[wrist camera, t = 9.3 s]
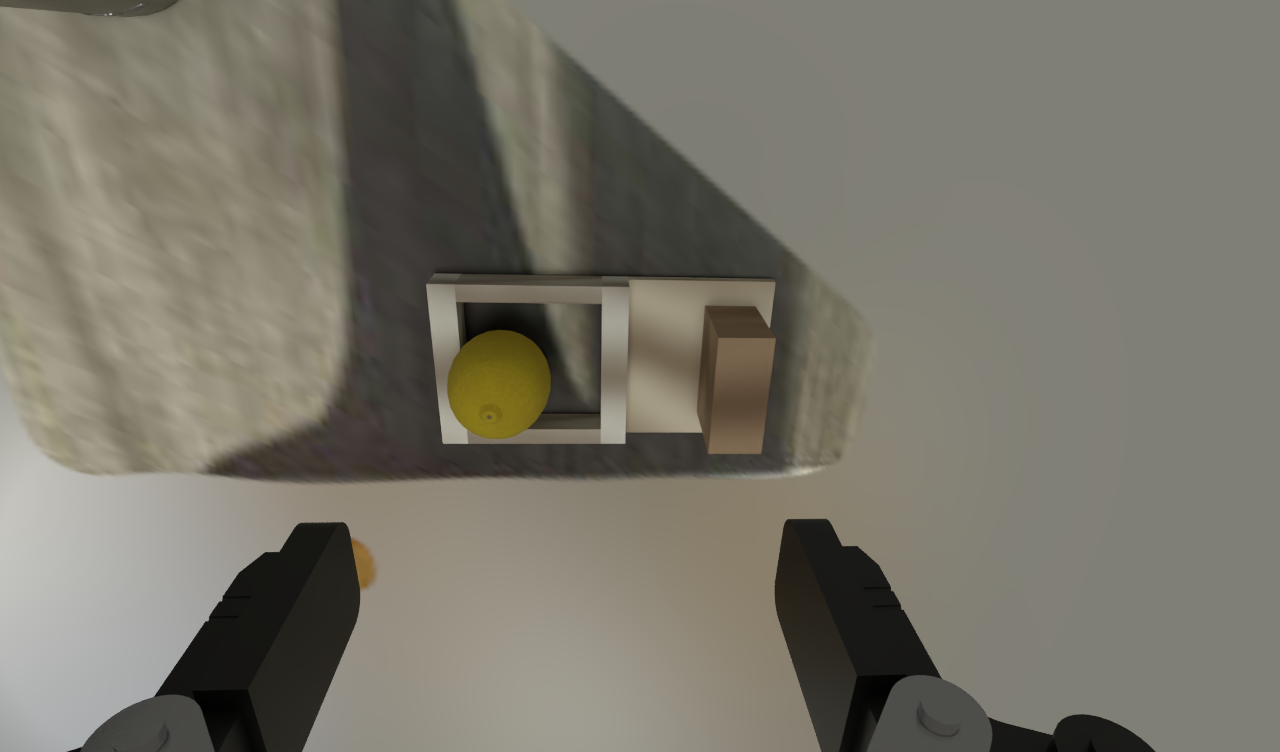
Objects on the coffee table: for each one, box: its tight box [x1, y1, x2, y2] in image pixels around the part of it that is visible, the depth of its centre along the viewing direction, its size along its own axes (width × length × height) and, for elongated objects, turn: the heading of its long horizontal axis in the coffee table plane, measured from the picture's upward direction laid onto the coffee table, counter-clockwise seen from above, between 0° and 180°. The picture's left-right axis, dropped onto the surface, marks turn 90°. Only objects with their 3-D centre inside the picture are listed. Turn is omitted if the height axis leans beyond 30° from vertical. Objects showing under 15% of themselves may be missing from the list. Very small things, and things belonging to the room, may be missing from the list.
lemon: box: [447, 330, 551, 439], centre depth 37 cm, size 6×6×8 cm
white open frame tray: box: [426, 273, 776, 454], centre depth 39 cm, size 10×20×6 cm, turn 88°
